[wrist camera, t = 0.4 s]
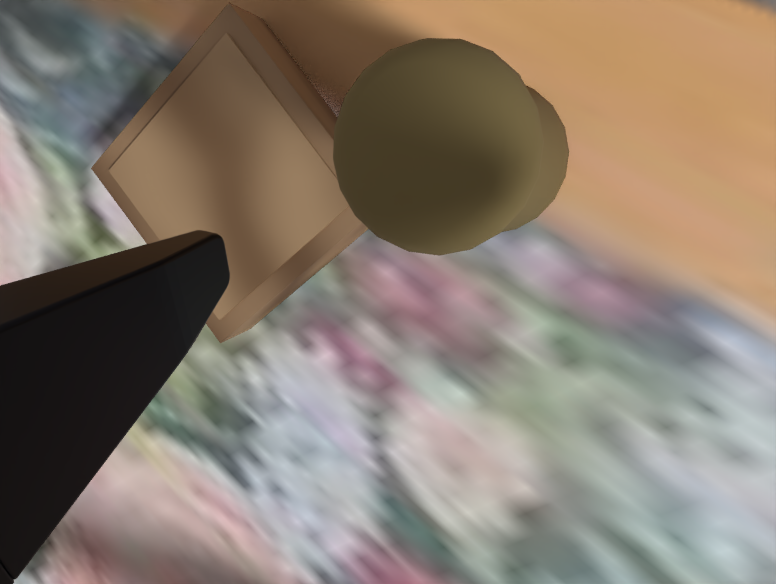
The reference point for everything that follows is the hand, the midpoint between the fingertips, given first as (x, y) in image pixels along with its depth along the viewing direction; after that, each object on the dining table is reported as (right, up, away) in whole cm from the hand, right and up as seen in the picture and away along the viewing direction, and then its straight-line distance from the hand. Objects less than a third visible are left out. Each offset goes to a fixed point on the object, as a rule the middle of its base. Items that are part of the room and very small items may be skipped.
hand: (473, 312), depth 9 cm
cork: (+3, +6, +14) cm, 16 cm away
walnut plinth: (-7, +5, +18) cm, 20 cm away
